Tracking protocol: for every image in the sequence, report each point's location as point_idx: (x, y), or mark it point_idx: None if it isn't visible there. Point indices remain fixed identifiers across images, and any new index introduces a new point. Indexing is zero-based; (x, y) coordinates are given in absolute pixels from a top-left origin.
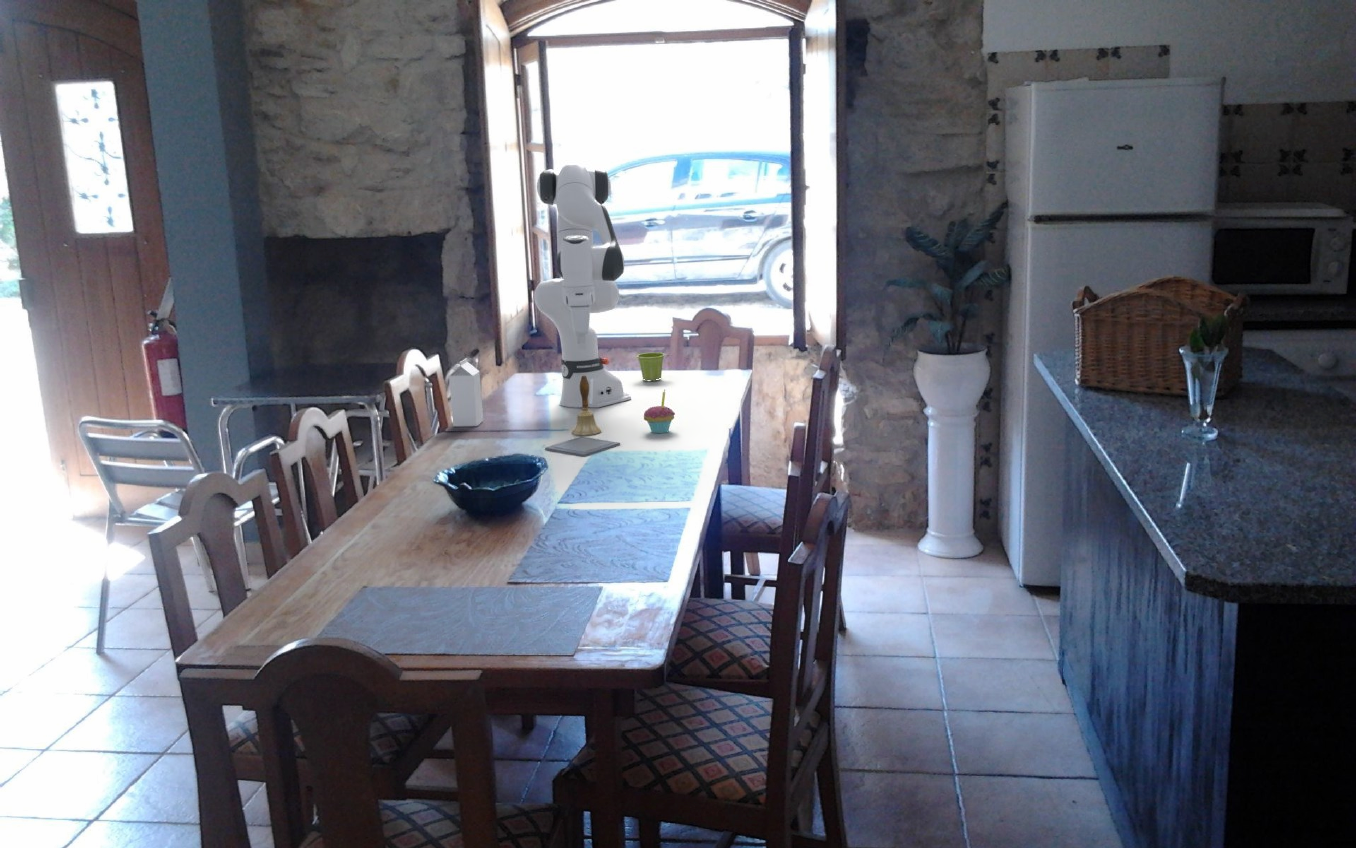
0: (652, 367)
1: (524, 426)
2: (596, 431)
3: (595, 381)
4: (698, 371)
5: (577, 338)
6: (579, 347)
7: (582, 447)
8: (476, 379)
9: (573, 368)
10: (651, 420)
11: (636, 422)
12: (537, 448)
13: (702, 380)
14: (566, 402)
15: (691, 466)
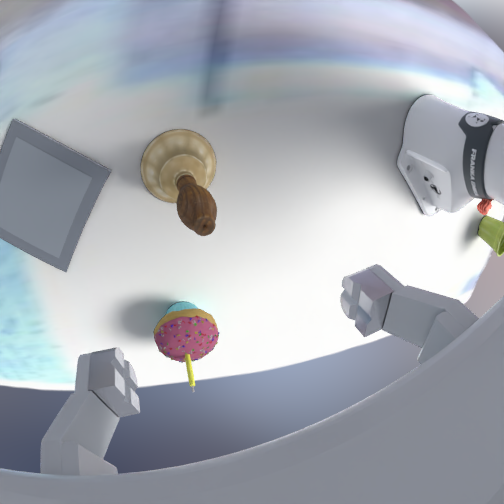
0: (490, 237)
1: (265, 7)
2: (159, 197)
3: (444, 175)
4: (482, 266)
5: (390, 287)
6: (80, 365)
7: (16, 207)
8: None
9: (473, 139)
10: (155, 328)
11: (264, 258)
12: (27, 94)
13: (457, 281)
14: (420, 106)
15: (5, 371)
